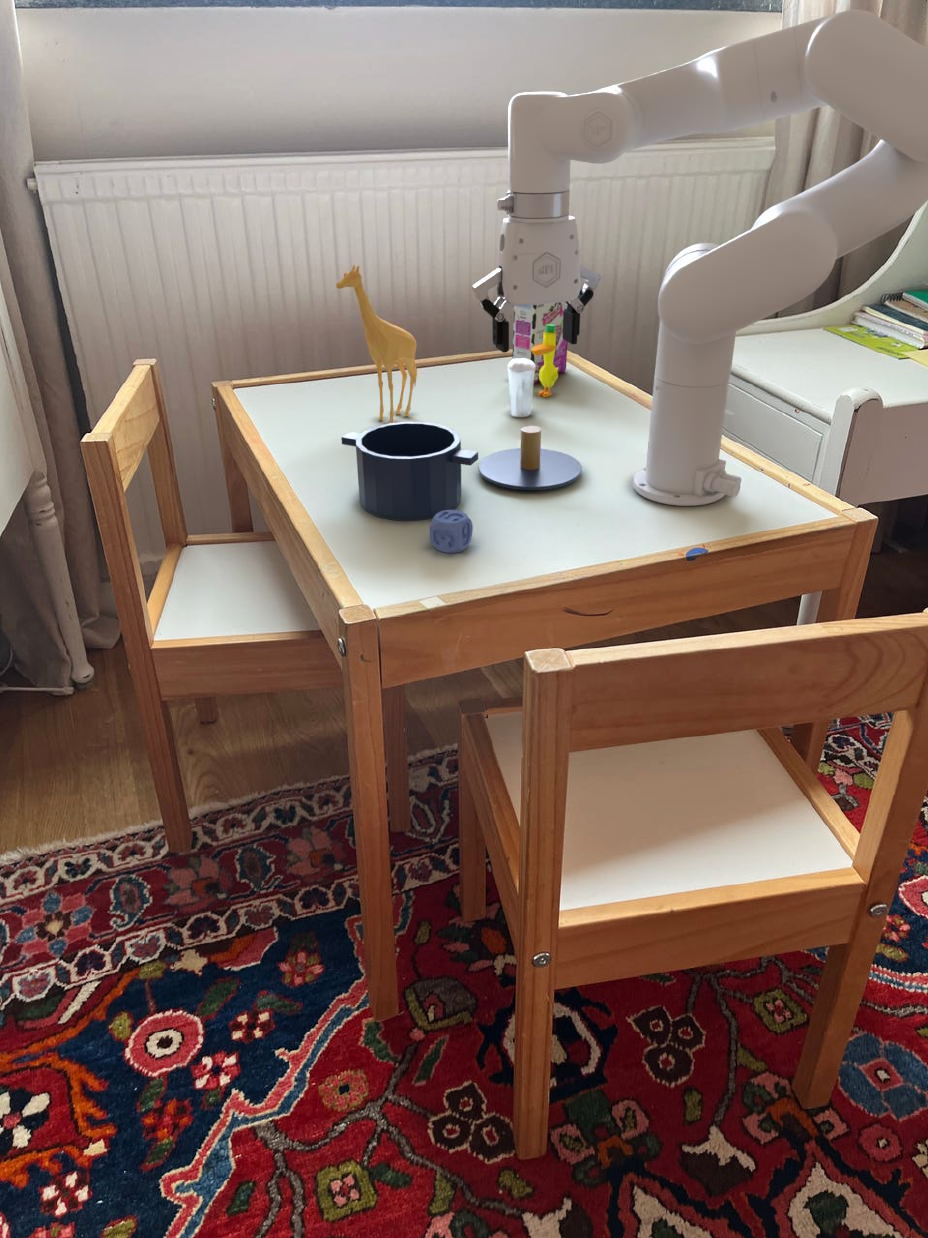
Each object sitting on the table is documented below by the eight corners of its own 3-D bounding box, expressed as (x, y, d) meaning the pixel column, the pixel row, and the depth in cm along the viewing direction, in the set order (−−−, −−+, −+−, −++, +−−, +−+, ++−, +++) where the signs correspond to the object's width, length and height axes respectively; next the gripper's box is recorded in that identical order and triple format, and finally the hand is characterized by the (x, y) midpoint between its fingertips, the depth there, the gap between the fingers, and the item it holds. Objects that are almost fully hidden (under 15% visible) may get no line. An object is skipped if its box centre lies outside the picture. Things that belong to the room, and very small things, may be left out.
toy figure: (538, 401, 165) (540, 330, 159) (523, 397, 167) (525, 326, 161) (565, 393, 169) (568, 323, 163) (550, 388, 171) (552, 319, 165)
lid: (560, 501, 129) (562, 454, 126) (461, 484, 135) (461, 438, 131) (594, 463, 141) (597, 419, 137) (502, 449, 146) (503, 406, 143)
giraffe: (359, 438, 151) (347, 271, 138) (339, 432, 153) (325, 267, 140) (427, 410, 161) (423, 253, 149) (408, 405, 164) (401, 250, 151)
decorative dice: (444, 536, 121) (443, 507, 119) (473, 542, 119) (472, 512, 117) (429, 549, 118) (428, 519, 116) (458, 555, 116) (458, 525, 114)
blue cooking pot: (452, 531, 122) (451, 468, 117) (323, 506, 129) (318, 446, 124) (495, 492, 132) (495, 432, 128) (374, 470, 139) (370, 413, 135)
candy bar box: (533, 385, 173) (535, 290, 164) (510, 380, 175) (512, 287, 167) (568, 371, 180) (572, 279, 172) (546, 366, 183) (549, 276, 174)
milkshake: (537, 419, 157) (539, 358, 152) (504, 418, 158) (505, 357, 153) (540, 410, 161) (542, 350, 156) (509, 409, 162) (509, 349, 157)
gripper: (483, 215, 113) (484, 360, 122) (615, 205, 118) (608, 345, 127) (462, 207, 120) (465, 345, 128) (589, 197, 124) (583, 332, 133)
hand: (536, 345), depth 128 cm, fingers open, 9 cm apart
